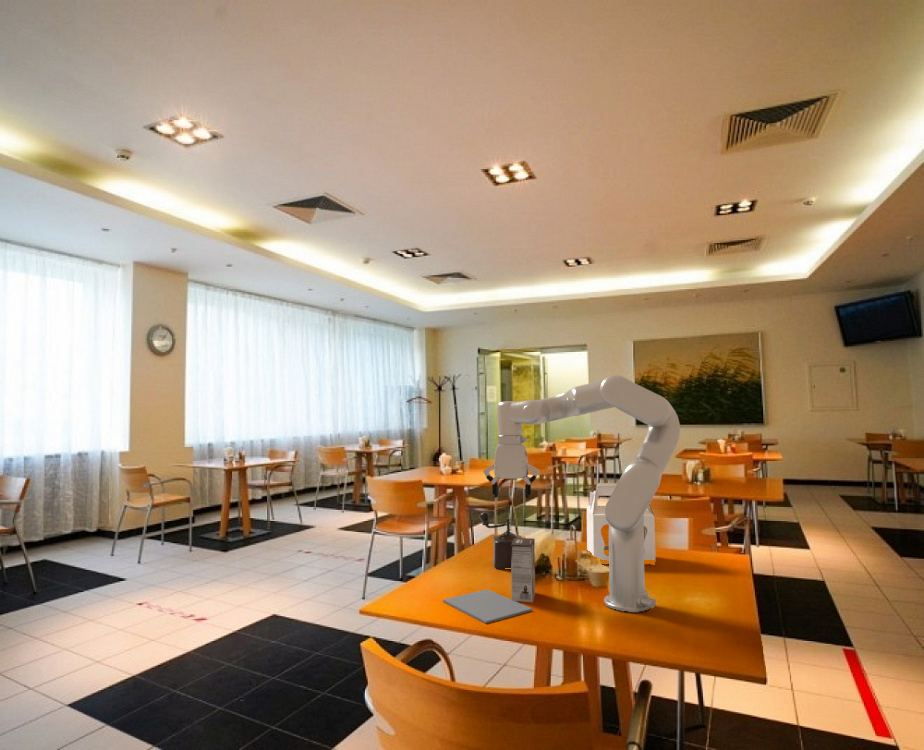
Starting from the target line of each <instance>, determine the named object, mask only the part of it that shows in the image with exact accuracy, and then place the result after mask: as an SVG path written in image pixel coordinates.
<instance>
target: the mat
mask: <svg viewBox="0 0 924 750" xmlns="http://www.w3.org/2000/svg"><path fill="white" fill-rule="evenodd" d="M444 602H445V603H444ZM442 603H444V604H446V603H447V604H446V605H448V604H449V605H448V606H450V605H451V607H452V606H453V607H452V608H453V609H456V610H458V611H460V612H462V613H464V614H466V615H468V616H470V617H472V618H474V619H475V620H477V621H479V620H480V621H479V622H481V621H482V622H481V623H483V622H484V623H483V624H485V623H487V624H490V623H493V621H494V622H498V621H501V620H505V619H507V618H512V617H516V616H519V615H522V614H525V613H528V612H529V613H530V612H532V611H533V607H529V606H527V605H525V604H522V603H520V602H519V601H513V600H512V598H508V597H506V596H504V595H502V594H499V593H498V592H497V593H496V592H494V591H492V590H489V589H487V588H486V589H482V590H478V591H474V592H470V593H465V594H462V595H458V596H453V597H449V598H444V599H442ZM489 622H490V623H489Z"/></svg>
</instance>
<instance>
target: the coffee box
mask: <svg viewBox="0 0 924 750" xmlns="http://www.w3.org/2000/svg"><path fill="white" fill-rule="evenodd" d="M535 540H536V538H534V537H533V538H528V537H527V538H526V537H522V538H514V540H513V542H512V544H511V569H510V570H511V571H510V572H511V573H510V575H511V579H510V581H511V583H510V584H511V587H510V588H511V589H510V590H511V600H513V601H515V602H523V603H526V602H527V603H534V598H535V595H536V563H535V562H536V559H535V558H536V557H535V556H536V555H535V554H536V553H535V551H536V550H535V549H536V547H535Z"/></svg>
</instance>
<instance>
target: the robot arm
mask: <svg viewBox="0 0 924 750" xmlns="http://www.w3.org/2000/svg"><path fill="white" fill-rule="evenodd" d="M612 408H615V409H617V410H619V411H621V412H623V413H624V414H626V415H628V416H630V417H632V418H634V419H636V420H637V421H640V422H642V423H643V424H646V425H647V432H646V435H645V436H644V439H643V440H642V441H641V445H640V446H639V449H638V451H637V452H636V454H635V456H634V457H633V459H632V460H631V461H630V462H629V463H628V464H627V465H626V467H625V468H624V470H623V472H622V474H621V476H620V478H619V479H618V481H617V482H616V483H617V485H616V487H615V489H614V491H613V493H612V494H611V496H609V498H608V500H607V502H606V504H605V505H604V506H605V517H606V520H607V522H608V523H609V524H608V546H609V565H608V568H609V569H608V571H609V572H608V579H609V584H608V586H609V594H608V595H606V596H604V597H603V598H604V599H603V603H604V605H605V606H607V607H608V608H610V609H613V610H615V609H616V611H619V610H620V611H619V612H624V611H628V612H627V613H640V612H639V611H643V612H645V611H644V610H647V609H649V608H650V609H654V608H655V605H656V603H657V600H656V598H653V597H650V596H649V591H648V590H646V586H645V581H646V580H645V565H644V513H645V511H646V509H647V507H648V506H649V504H650V505H651V502H652V500H653V498H654V497H655V494H656V493H657V491H658V489H659V487H660V483H661V480H662V476H663V474H664V472H665V470H666V468H667V466H668V465H669V462H670V459H671V458H672V456H673V453H674V452H675V450H676V448H677V445H678V442H679V439H680V435H681V425H680V421H679V420H680V419H679V417H678V414H677V412H676V410H675V409H674V407H673V406H672V404H671V403H670V402H669V400H667V399H666V398H665V397H663V396H662V395H659V394H658V393H655V392H654V391H652V390H649V389H647V388H645V387H644V386H642V385H639V384H637V383H635V382H633V381H632V380H630V379H628V378H627V377H625V376H623V375H620V374H612V375H609V376H607V377H605V379H600V380H598V381H594V382H590V383H586V384H582V385H577V386H574V387H572V388H570V389H568V390H567V391H565V392H563V393H561V394H558V395H554V396H550V397H546V398H542V399H525V400H520V401H516V400H515V401H514V400H513V401H512V400H511V401H506V400H505V401H500V402H498V403H497V407H496V413H497V445H495V446H496V447H495V452H494V453H495V454H494V460H493V461H494V464H492V465H490V466H489V467H486V468H483V470H482V472H483V474H484V475H485V477H486V480H488V482H489V483H490V484H491V487H492V488H491V489H492V490H491V491H492V495H493V496H494V497H493V498H498V497H499V495H500V493H499V483H498V481H499V480H500V479H522V480H523V481H524V482H525V486H524V487H525V488H524V489H525V491H524V493H525V498H526V499H529V497H530V496H532V484H533V482H534V481H536V479H537V477H538V476H539V474H540V469H538V468H537V467H534V466H532V465H531V464H529V461H528V452H527V448H526V447H527V446H526V445H525V444H524V443H527V442H528V437H526V436H523V425H524V424H525V425H542V424H545V423H550V422H554V421H558V420H562V419H566V418H571V417H580V416H582V415H587V414H590V413H595V412H599V411H603V410H607V409H612ZM490 471H493V472H494V477H493V476H492V475H491V473H490ZM529 471H531V472H533V474H532V476H531V477H529V476H528V475H529ZM650 609H649V610H650ZM647 611H648V610H647Z"/></svg>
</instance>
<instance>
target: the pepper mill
mask: <svg viewBox="0 0 924 750" xmlns="http://www.w3.org/2000/svg"><path fill="white" fill-rule="evenodd" d="M478 518H479V519H480V521H481V522H482V526H484V527H486V528H488V529H497V528H502V527H505V526H506V530H505V531H504V532H503V533H501V534H499V535H493V538H492V539H493V545H492V546H493V555H492V556H493V559H492V564H494V565H493V568H494V569H495V568H496V569H495V570H506V569H505V568H511V544H512V542H513V540H514V538H523V537H522V535H517V534H515V533H513V532H511V530H510V524H511V521H510V520H511V519H510V517H507V518H505V519H506V522H505V523H502V524H495V525H490V523H491V522H490V521H489V520H490V519H489V518H490V514H489V512H487V511H482V512H481V513H479V515H478Z"/></svg>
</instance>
